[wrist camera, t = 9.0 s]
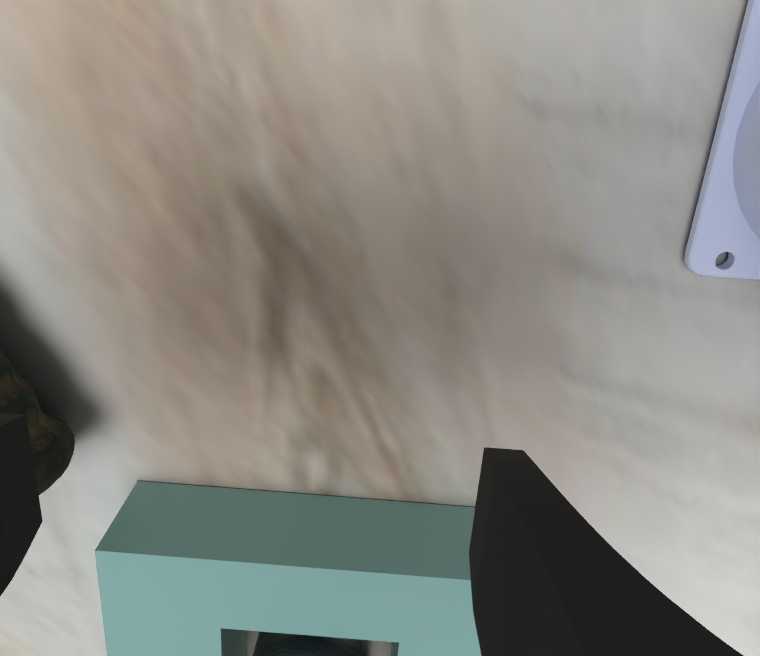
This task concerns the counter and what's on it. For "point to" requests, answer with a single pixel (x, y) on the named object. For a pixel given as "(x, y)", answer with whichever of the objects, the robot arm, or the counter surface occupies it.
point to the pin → (309, 645)
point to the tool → (37, 426)
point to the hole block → (283, 571)
